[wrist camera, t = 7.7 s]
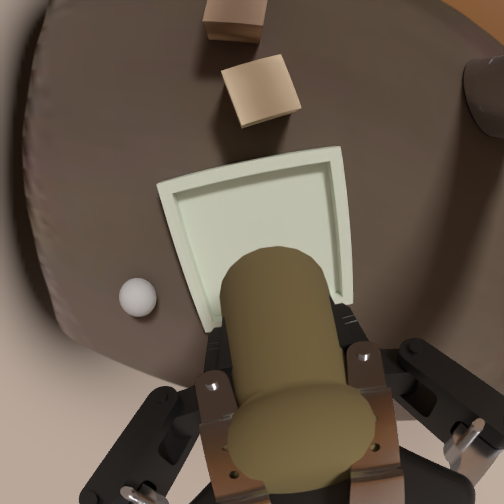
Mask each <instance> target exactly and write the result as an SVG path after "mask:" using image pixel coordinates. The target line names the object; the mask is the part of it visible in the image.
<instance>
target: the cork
mask: <svg viewBox="0 0 504 504" xmlns="http://www.w3.org/2000/svg"><path fill="white" fill-rule="evenodd" d="M329 295H330V291H329V288H328V284H327V281H326V278H325V276H324V273H323V270H322V268H321V267H320V266H319V265H318V264H317V263H316V261H315V260H314V259H313V258H312V257H311V256H309V255H307V254H305V253H303V252H301V251H300V250H298V249H294V248H289V247H283V246H273V247H265V248H259V249H257V250H255V251H253V252H250V253H248V254H246V255H243V256H242V257H241V258H240V259H239V260H238V261H236V262H235V263H234V264H233V265H232V266H231V267H230V268H229V270H228V271H227V273H226V275H225V277H224V278H223V280H222V283H221V289H220V295H219V298H220V306H221V314H222V317H223V316H224V317H225V323H226V329H227V336H228V342H229V348H230V354H231V360H232V366H233V368H232V373H231V378H232V384H233V390H234V395H235V398H236V402H237V405H238V410H237V411H236V412H235V413H234V414H233V415H232V416H233V417H232V421H231V424H230V426H229V429H228V443H227V444H226V445H225V447H224V449H223V451H229V453H230V456H231V458H232V461H233V464H234V465H235V466H236V467H237V468H238V469H239V470H240V471H241V472H242V473H243V474H244V475H246V476H247V477H249V478H250V479H255V480H260V481H263V482H264V484H265V486H266V488H267V490H268V492H269V493H270V494H285V493H297V492H305V491H310V490H315V489H320V488H324V487H327V486H330V485H334V484H337V483H339V482H342V481H344V480H346V479H349V473H350V467H351V465H352V464H354V463H355V462H357V461H358V460H359V459H361V458H362V457H363V456H364V454H365V452H366V451H367V449H368V447H369V446H370V444H371V442H372V440H373V438H374V435H375V422H376V421H377V420H378V419H377V417H376V416H375V415H374V414H373V411H372V409H371V407H370V404H369V402H368V401H367V400H366V399H365V398H364V397H363V396H362V395H361V394H360V390H358V389H356V388H354V387H351V386H349V385H348V378H347V364H346V358H345V354H344V350H343V349H342V348H340V346H339V341H338V336H337V331H336V326H335V322H334V317H333V312H332V308H331V303H330V299H329ZM330 296H331V295H330ZM370 449H371V451H373V452H377V451H378V449H377V447H376V446H375V445H372V446H371V447H370ZM238 477H239V473H238V472H236V473H235V474H234V477H233V479H236V478H238Z"/></svg>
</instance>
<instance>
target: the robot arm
mask: <svg viewBox="0 0 504 504" xmlns="http://www.w3.org/2000/svg"><path fill="white" fill-rule="evenodd" d="M464 90H465V96H466V100H467V103H468V106H469V109H470V111H471V114H472V116H473V118H474V120H475V121H476V123H477V124H478V126H479V127H480V128H481V130H482V131H483V132H485V133H486V134H487V135H489V136H491V137H498V138H504V56H496V57H489V58H482V59H476V60H472V61H470V62H469V63H468V64H467V66H466V68H465V71H464ZM329 299H330V303H331V308H332V312H333V317H334V322H335V326H336V331H337V336H338V341H339V346H340V348H342V349H343V350H344V354H345V358H346V364H347V378H348V385H349V386H351V387H354V388H356V389H358V390H360V394H361V395H362V396H363V397H364V398H365V399H366V400H367V401H368V402H369V404H370V407H371V409H372V411H373V414H374V415H375V416H376V417H377V419H378V420H377V421H376V422H375V435H374V438H373V440H372V442H371V444H370V446H369V447H368V449H367V451H366V452H365V454H364V456H363V457H362V458H361V459H359V460H358V461H357V462H355V463H354V464H352V465H351V467H350V473H349V479H346V480H344V481H342V482H339V483H337V484H334V485H330V486H327V487H324V488H320V489H315V490H310V491H305V492H297V493H285V494H270V493H269V492H268V490H267V488H266V486H265V484H264V482H263V481H260V480H255V479H250V478H249V477H247V476H246V475H244V474H243V473H242V472H241V471H240V470H239V469H238V468H237V467H236V466H235V465H234V464H233V461H232V458H231V456H230V453H229V451H223V449H224V447H225V445H226V444H227V443H228V429H229V426H230V424H231V421H232V417H233V416H232V415H233V414H234V413H235V412H236V411H237V410H238V405H237V402H236V398H235V395H234V390H233V384H232V378H231V373H232V368H233V366H232V360H231V354H230V348H229V342H228V336H227V329H226V323H225V317H224V316H223V317H222V326H221V327H215V328H213V330H212V331H211V333H210V334H209V337H208V344H207V351H206V359H205V366H204V373H203V374H201V375H200V376H199V377H198V378H197V380H196V382H195V385H194V386H192V387H190V388H187V389H184V390H181V391H179V392H177V391H176V390H175V389H174V388H172V387H169V386H162V387H159V388H156V389H154V390H153V391H152V392H151V393H150V394H149V395H148V397H147V398H146V400H145V401H144V403H143V404H142V405H141V407H140V409H139V410H138V411H137V412H136V414H135V415H134V417H133V418H132V420H131V421H130V423H129V424H128V425H127V427H126V428H125V429H124V431H123V432H122V434H121V435H120V437H119V438H118V439H117V441H116V442H115V444H114V445H113V447H112V448H111V449H110V451H109V452H108V454H107V455H106V457H105V458H104V460H103V461H102V462H101V464H100V465H99V467H98V468H97V469H96V471H95V472H94V474H93V475H92V477H91V478H90V479H89V481H88V482H87V484H86V485H85V487H84V488H83V489H82V491H81V493H80V495H79V503H80V504H169V502H168V500H167V499H166V498H165V497H166V495H167V493H168V491H169V490H170V487H171V486H172V484H173V483H174V481H175V479H176V477H177V475H178V473H179V472H180V470H181V468H182V466H183V464H184V462H185V461H186V459H187V457H188V455H189V453H190V451H191V450H192V447H193V446H194V444H195V442H196V440H197V438H198V436H199V434H200V435H201V440H202V445H203V450H204V454H205V458H206V462H207V467H208V471H209V475H210V479H211V482H210V483H209V484H208V485H207V486H206V487H205V488H204V489H203V490H202V491H201V492H200V493H199V494H198V495H197V496H196V497H195V499H193V500H192V501H191V502H190V503H189V504H475V489H474V486H475V485H476V484H477V482H478V481H479V480H480V479H481V478H482V476H483V475H484V474H485V473H486V471H487V470H488V469H489V467H490V466H491V465H492V464H493V462H494V461H495V459H496V458H497V457H498V455H499V454H500V453H501V452H502V451H503V450H504V396H503V395H502V394H501V393H499V392H498V391H496V390H495V389H494V388H492V387H491V386H489V385H488V384H487V383H485V382H484V381H482V380H481V379H479V378H478V377H477V376H475V375H474V374H472V373H471V372H469V371H468V370H467V369H465V368H464V367H462V366H461V365H459V364H458V363H457V362H455V361H454V360H452V359H451V358H449V357H448V356H446V355H445V354H443V353H442V352H441V351H439V350H438V349H436V348H435V347H433V346H432V345H430V344H429V343H427V342H426V341H424V340H422V339H419V338H411V339H408V340H405V341H404V342H403V343H402V344H401V346H400V349H380V348H379V347H378V346H377V345H376V344H374V343H372V342H369V341H368V339H367V337H366V335H365V333H364V332H363V330H362V328H361V326H360V325H359V323H358V321H357V319H356V318H355V316H354V314H353V312H352V311H351V309H350V307H348V306H347V305H345V304H344V303H339V304H335V303H334V301H333V299H332V297H331V296H330V295H329ZM393 398H394V399H395V400H396V401H397V402H398V403H399V404H400V405H401V406H402V407H404V408H405V409H406V410H407V411H408V412H409V413H410V414H411V415H413V416H414V417H415V418H416V419H417V420H418V421H419V422H420V423H422V424H423V425H424V426H425V427H426V428H427V429H428V430H430V431H431V432H432V433H433V434H434V435H435V436H436V437H437V438H438V439H440V440H441V441H442V442H443V443H444V444H445V445H444V450H443V451H444V455H445V458H446V460H447V461H448V462H449V464H450V469H448V468H446V467H443V466H441V465H439V464H437V463H434V462H432V461H430V460H428V459H426V458H423V457H421V456H419V455H417V454H415V453H413V452H411V451H409V450H407V449H405V448H403V447H401V446H399V442H398V433H397V424H396V416H395V409H394V403H393ZM372 445H375V446H376V447H377V449H378V451H377V452H373V451H371V449H370V447H371V446H372ZM236 472H238V473H239V477H238V478H236V479H233V477H234V474H235V473H236Z"/></svg>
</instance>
